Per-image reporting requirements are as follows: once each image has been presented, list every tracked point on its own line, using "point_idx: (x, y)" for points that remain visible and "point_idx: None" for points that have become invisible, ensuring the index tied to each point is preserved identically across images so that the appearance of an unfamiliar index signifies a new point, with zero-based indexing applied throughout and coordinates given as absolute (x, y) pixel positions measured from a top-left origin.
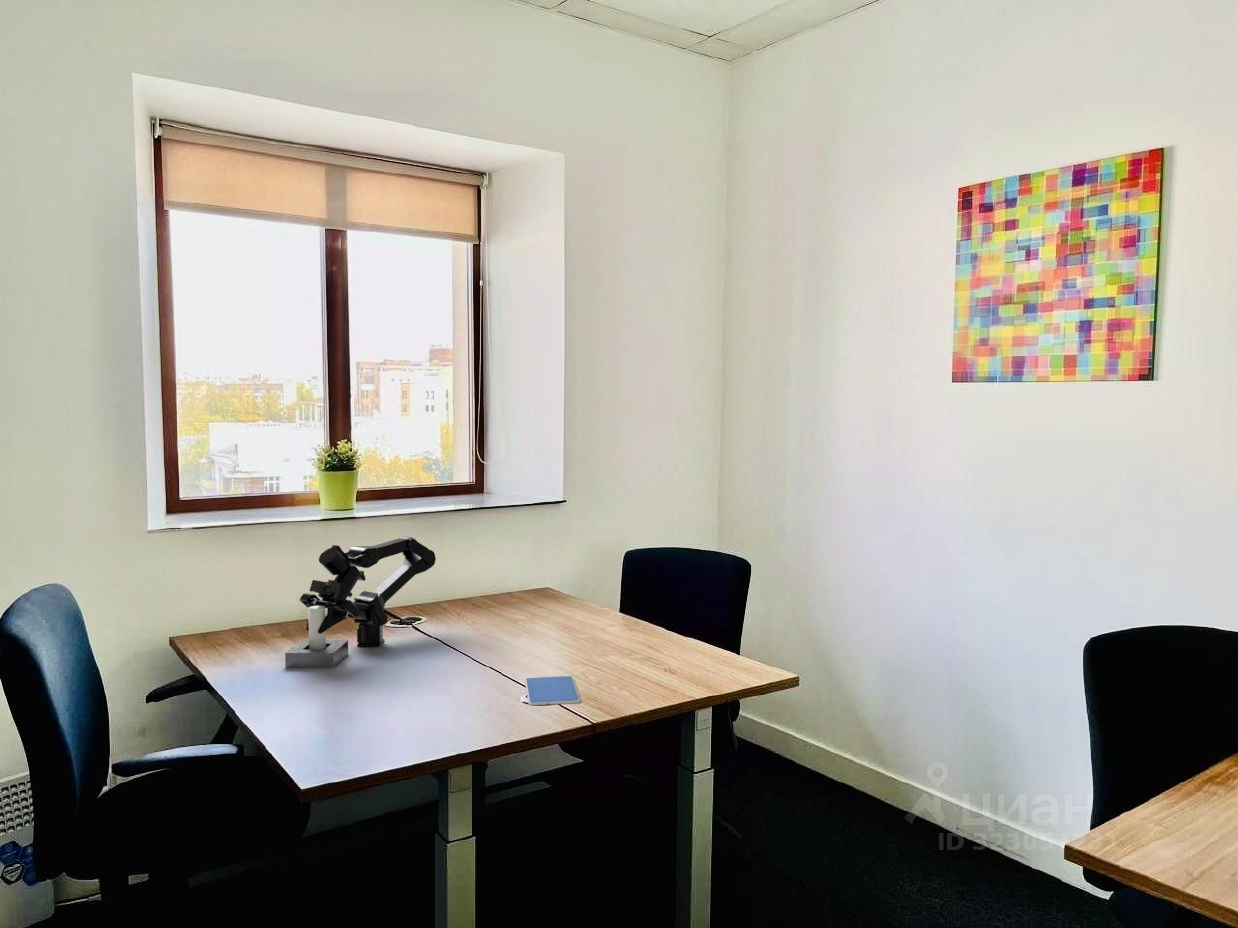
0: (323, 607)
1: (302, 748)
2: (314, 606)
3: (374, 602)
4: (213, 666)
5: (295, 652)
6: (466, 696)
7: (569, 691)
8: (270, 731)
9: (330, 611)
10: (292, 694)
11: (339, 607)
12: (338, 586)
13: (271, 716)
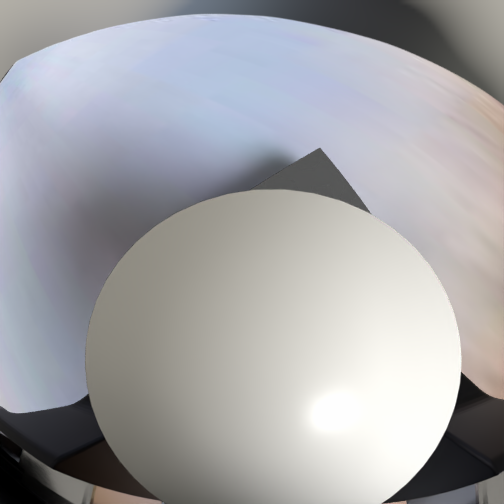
0: (142, 465)
1: (29, 67)
2: (398, 439)
3: None
4: (464, 95)
5: (287, 178)
6: None
7: None
8: (68, 46)
9: (61, 415)
10: (110, 89)
11: (39, 488)
12: None
13: (89, 49)
